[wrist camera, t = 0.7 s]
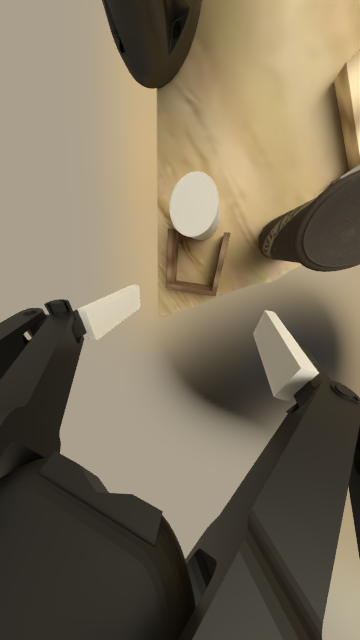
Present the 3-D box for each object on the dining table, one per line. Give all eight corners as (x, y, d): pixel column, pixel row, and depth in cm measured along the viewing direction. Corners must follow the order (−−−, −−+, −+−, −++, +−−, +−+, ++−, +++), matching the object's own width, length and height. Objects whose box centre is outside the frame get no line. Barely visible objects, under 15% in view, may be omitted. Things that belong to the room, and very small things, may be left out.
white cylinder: (183, 236, 34) (166, 231, 24) (191, 194, 29) (174, 167, 19) (213, 243, 32) (208, 241, 22) (225, 201, 28) (227, 176, 18)
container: (273, 207, 26) (359, 139, 10) (316, 222, 26) (490, 173, 9) (249, 252, 31) (279, 257, 15) (285, 265, 30) (360, 286, 14)
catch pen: (174, 230, 34) (168, 228, 29) (229, 234, 31) (230, 232, 27) (172, 283, 41) (166, 287, 37) (216, 290, 38) (215, 296, 34)
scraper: (313, 100, 20) (323, 84, 18) (382, 35, 17) (404, 6, 15) (331, 189, 23) (341, 183, 21) (392, 150, 20) (410, 139, 18)
